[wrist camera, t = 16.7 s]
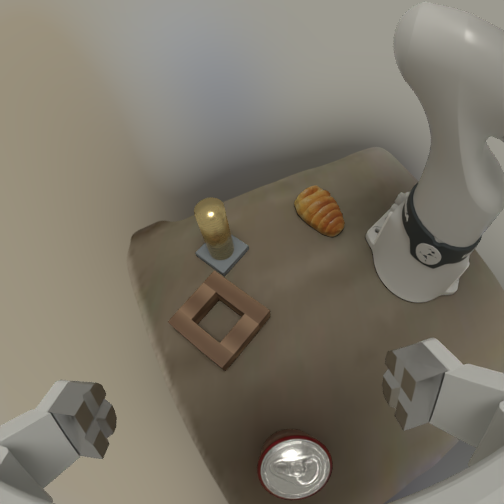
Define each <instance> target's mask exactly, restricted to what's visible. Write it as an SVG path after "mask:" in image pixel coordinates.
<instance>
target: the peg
mask: <svg viewBox="0 0 504 504" xmlns="http://www.w3.org/2000/svg"><path fill="white" fill-rule="evenodd" d="M194 214H195V217H196V220H197V222H198V225H199V228H200V230H201V233H202V235H203V238H204V241H205V243H206V246H207V248H208V251H209V253H210V255H211V257H212V258H214V259H216V260H225V259H227V258H229V257H230V256H231V255H232V254H233V252H234V245H233V241H232V237H231V233H230V229H229V224H228V220H227V216H226V212H225V208H224V204H223V203H222V201H220V200H219V199H217V198H206V199H203V200H202V201H200V202H199V203H198V204H197V205H196V207H195V209H194Z"/></svg>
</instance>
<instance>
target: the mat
mask: <svg viewBox="0 0 504 504" xmlns="http://www.w3.org/2000/svg"><path fill="white" fill-rule="evenodd" d="M231 237H232V241H233V245H234V252H233V254H232V255H231V256H230V257H229V258H227V259H225V260H216V259H214V258H212V257H211V255H210V253H209V251H208V248H207V246H206V243H204V244H203V245H202V246H201V248H200V249H199V250H198V251H197V252H196V255H197V257H199V258H200V259H202V260H203V261H204V262H206V263H207V264H208V265H210V266H211V267H212V268H214V269H215V270H217V271H218V272H219V273H221V274H222V275H223V276H225V275H226V274H227V273H228V272H229V271H230V270H231V268H232V267H233V266H234V265H235V264H236V263H237V262H238V261H239V260H240V258H241V257H242V256H243V255H244V254H245V253H246V252H247V251H248V249H249V246H248V245H247V244H245V243H243V242H242V241H240V240H239V239H237V238H236V237H234V236H233V235H231Z"/></svg>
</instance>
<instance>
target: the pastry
mask: <svg viewBox="0 0 504 504" xmlns="http://www.w3.org/2000/svg"><path fill="white" fill-rule="evenodd" d="M294 205H295V208H296V210H297V213H298V215H299V216H300V217H301V218H302V220H304V221H305V222H306V223H307V224H309V225H310V226H311V227H313V228H314V229H315V230H317V231H318V232H320V233H321V234H323V235H326V236H329V237H334V236H336V235H338V234H339V233H340V232H341V231H342V230H343V228H344V224H345V222H344V220H343V215H342V213H341V212H340V208H339V206H338V205H337V202H336V201H335V200H334V198H333V197H330V193H329V192H328V191H326V190H322V189H321V188H319V187H318V186H311V187H309V188H306V189H305V190H304V191H303V192H301V193H300V194H299V195H298V197H297V198H296V200H295V202H294Z"/></svg>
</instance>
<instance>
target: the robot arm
mask: <svg viewBox="0 0 504 504" xmlns="http://www.w3.org/2000/svg"><path fill="white" fill-rule="evenodd" d="M394 54H395V59H396V63H397V65H398V68H399V70H400V73H401V74H402V76H403V78H404V80H405V81H406V82H407V83H408V85H409V86H410V87H411V88H412V90H413V91H414V93H415V94H416V96H417V97H418V99H419V101H420V103H421V105H422V106H423V109H424V111H425V114H426V116H427V119H428V123H429V127H430V134H431V147H430V153H429V156H428V159H427V162H426V165H425V168H424V171H423V174H422V176H421V178H420V181H419V183H417V184H416V185H415V186H414V187H413V189H412V190H411V191H410V192H406V193H405V194H404V193H403V192H400V194H399V195H398V196H397V198H396V200H395V203H394V204H393V205H392V206H391V208H390V209H389V210H388V211H387V212H386V213H385V214H384V215H383V216H382V217H381V218H380V219H379V220H378V221H377V222H376V223H375V224H374V225H373V226H372V227H371V228H370V229H369V230H368V231H367V233H366V235H365V237H366V240H367V242H368V244H369V246H370V247H371V249H372V252H373V258H374V265H375V268H376V271H377V273H378V275H379V277H380V279H381V280H382V282H383V283H384V285H385V286H386V287H387V288H388V289H389V290H390V291H391V292H393V293H394V294H395V295H397V296H398V297H400V298H402V299H404V300H407V301H410V302H427V301H430V300H432V299H434V298H436V297H438V296H440V295H452V294H454V293H455V292H456V291H457V289H458V283H459V277H460V276H461V275H462V274H463V273H464V272H465V270H466V269H467V268H468V266H469V264H470V263H469V258H470V254H471V253H472V252H473V251H474V249H475V248H476V246H477V245H478V243H479V242H480V240H481V236H482V234H483V233H484V232H485V231H486V230H487V228H488V227H489V226H490V225H491V224H492V222H493V221H494V220H495V219H496V217H497V216H498V215H499V214H500V212H501V211H502V210H503V208H504V172H503V170H502V168H501V166H500V164H499V162H498V160H497V159H496V157H495V156H494V154H493V153H492V151H491V150H490V148H489V146H488V145H487V143H486V140H487V139H488V137H490V136H493V137H495V138H497V139H500V140H502V141H503V142H504V30H502V29H500V28H498V27H497V26H495V25H493V24H491V23H489V22H487V21H486V20H484V19H482V18H480V17H477V16H476V15H473V14H471V13H469V12H467V11H463V10H460V9H456V8H453V7H449V6H445V5H440V4H435V3H429V2H421V3H419V4H417V5H415V6H413V7H412V8H410V9H409V10H408V11H407V12H406V13H405V14H404V15H403V16H402V18H401V19H400V20H399V23H398V25H397V27H396V30H395V34H394ZM375 231H377V232H378V233H376V232H375ZM385 365H386V366H387V367H388V370H387V371H386V373H385V374H384V375H383V382H382V387H383V394H384V397H385V400H386V401H387V403H388V405H389V406H391V407H393V408H396V411H395V417H396V419H397V421H398V422H399V424H400V426H401V427H402V429H403V431H405V430H408V429H411V428H414V427H416V426H419V425H422V424H425V423H428V422H430V424H432V425H434V426H436V427H438V428H439V429H441V430H443V431H445V432H447V433H449V434H450V435H452V436H454V437H456V438H458V439H460V440H462V441H464V442H465V443H467V444H469V445H471V446H473V447H475V448H477V449H476V451H475V452H474V454H473V455H472V457H471V459H470V461H469V463H468V466H469V467H468V468H466V469H464V470H463V471H461V472H459V473H457V474H455V475H453V476H451V477H449V478H447V479H445V480H443V481H441V482H439V483H437V484H435V485H432V486H430V487H428V488H426V489H423V490H421V491H419V492H416V493H414V494H411V495H409V496H407V497H404V498H401V499H398V500H395V501H393V502H390V503H387V504H504V373H501V372H497V371H494V370H490V369H486V368H482V367H479V366H475V365H472V364H465V365H463V364H462V363H461V362H460V361H459V360H458V359H457V358H456V357H455V356H454V355H453V354H452V353H451V352H450V351H449V350H448V349H447V348H446V347H445V346H444V345H443V344H441V343H440V342H439V341H438V340H437V339H436V338H429V339H426V340H423V341H420V342H418V343H416V344H412V345H409V346H406V347H402V348H399V349H395V350H391V351H388V352H387V354H386V358H385ZM105 396H106V393H105V390H104V389H103V386H102V385H101V384H99V383H92V382H80V381H68V380H58V381H56V382H55V383H54V385H53V386H52V387H51V389H50V390H49V391H48V393H47V394H46V395H45V397H44V398H43V399H42V401H41V402H40V403H39V405H38V406H37V407H36V409H35V410H32V409H31V410H29V411H27V412H25V413H23V414H22V415H20V416H18V417H16V418H14V419H12V420H10V421H8V422H7V423H4V424H3V425H1V426H0V504H54V503H53V500H52V498H51V496H50V495H49V494H48V493H47V492H46V491H44V489H43V488H44V487H46V486H47V485H48V484H49V483H50V482H52V481H53V480H54V479H55V478H56V477H58V476H59V475H60V474H61V473H62V472H63V471H64V470H66V469H67V468H68V467H69V466H70V465H71V464H73V463H74V462H75V461H76V460H77V459H78V458H80V456H85V457H91V458H99V459H103V458H104V455H105V453H106V450H107V448H108V446H109V442H108V439H107V438H108V437H109V436H110V435H112V434H113V433H114V431H115V428H116V414H115V410H114V408H113V406H112V405H111V404H110V403H109V402H108V401H107V400H105Z"/></svg>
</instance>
